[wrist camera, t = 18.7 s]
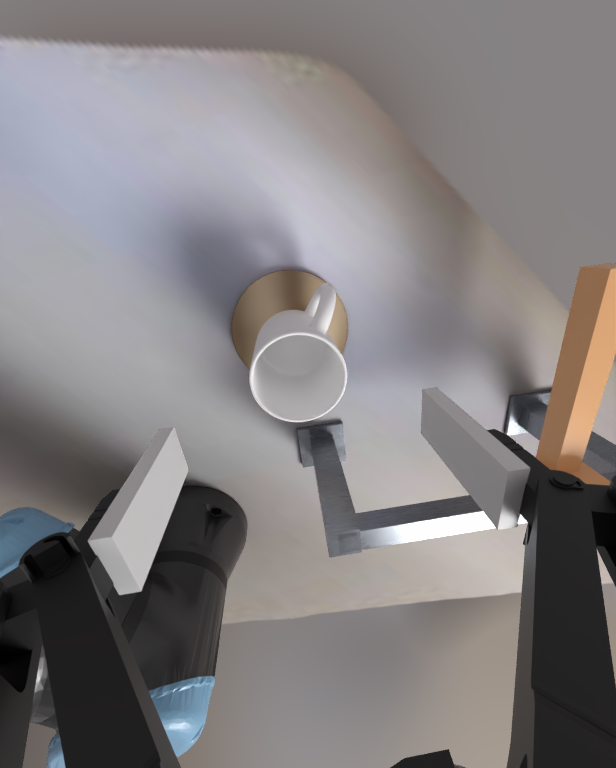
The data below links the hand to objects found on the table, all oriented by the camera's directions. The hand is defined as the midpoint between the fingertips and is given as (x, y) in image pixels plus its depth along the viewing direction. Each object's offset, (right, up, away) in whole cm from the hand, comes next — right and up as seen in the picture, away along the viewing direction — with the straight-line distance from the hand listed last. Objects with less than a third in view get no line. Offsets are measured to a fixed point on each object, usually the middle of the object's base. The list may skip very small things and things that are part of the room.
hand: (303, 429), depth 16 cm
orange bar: (+24, +1, +12) cm, 27 cm away
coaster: (-2, +8, +19) cm, 21 cm away
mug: (-1, +9, +18) cm, 20 cm away
